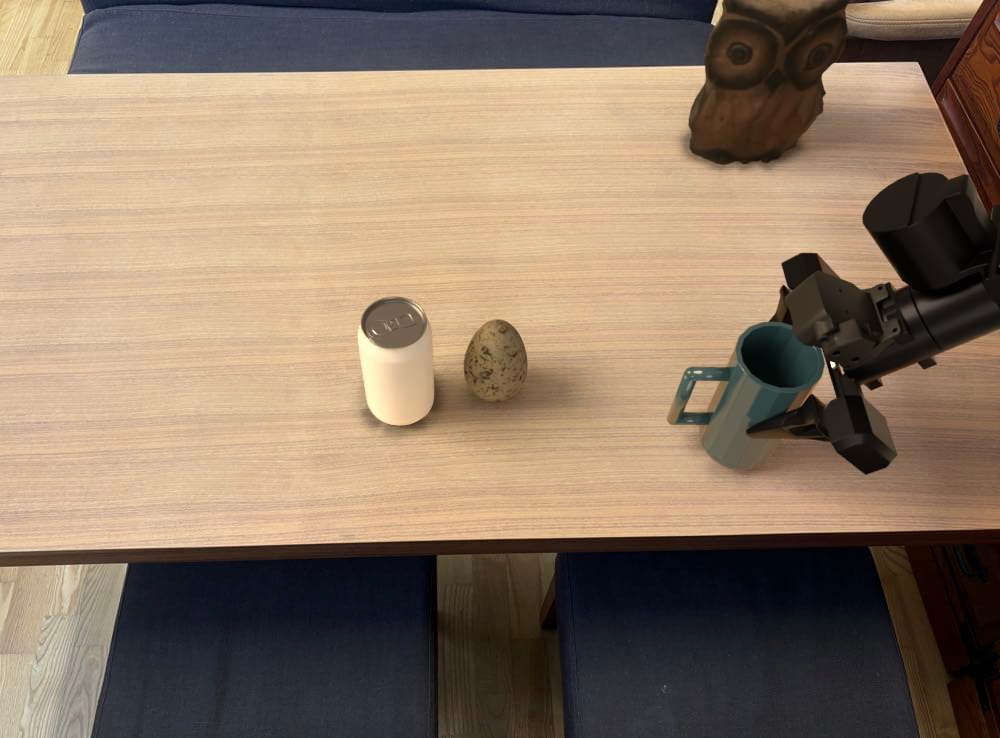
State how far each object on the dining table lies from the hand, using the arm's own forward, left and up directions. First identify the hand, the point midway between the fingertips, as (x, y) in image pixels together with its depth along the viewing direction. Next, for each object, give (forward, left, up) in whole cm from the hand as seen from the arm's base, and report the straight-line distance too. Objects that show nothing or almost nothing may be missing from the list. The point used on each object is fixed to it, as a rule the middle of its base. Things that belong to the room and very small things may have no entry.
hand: (740, 398), depth 73 cm
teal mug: (0, 0, -7) cm, 7 cm away
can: (+28, -12, -8) cm, 31 cm away
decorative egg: (+19, -11, -8) cm, 23 cm away
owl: (-20, -40, -8) cm, 45 cm away
